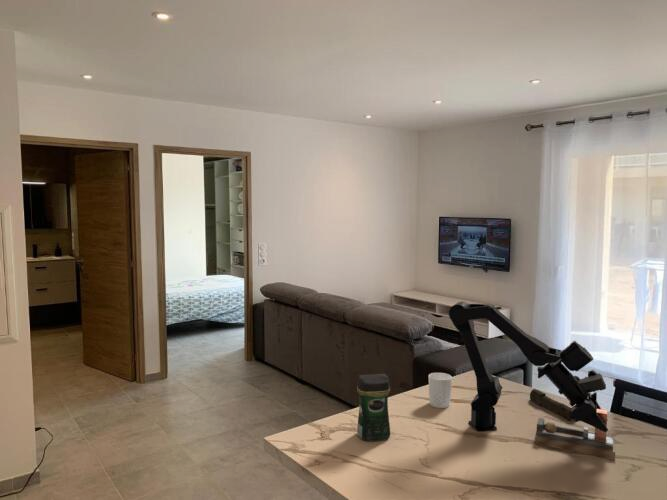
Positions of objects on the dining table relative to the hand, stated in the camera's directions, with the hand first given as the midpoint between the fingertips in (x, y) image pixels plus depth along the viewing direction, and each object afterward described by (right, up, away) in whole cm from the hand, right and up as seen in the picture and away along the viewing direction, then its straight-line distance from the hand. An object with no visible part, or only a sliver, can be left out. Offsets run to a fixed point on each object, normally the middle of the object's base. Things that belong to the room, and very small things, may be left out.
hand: (606, 426), depth 137 cm
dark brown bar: (-3, -5, +29) cm, 30 cm away
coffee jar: (-64, -7, +9) cm, 65 cm away
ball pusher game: (-7, -7, +4) cm, 11 cm away
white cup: (-39, -5, +33) cm, 52 cm away
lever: (-2, -5, +1) cm, 5 cm away
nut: (-13, -5, +7) cm, 15 cm away
